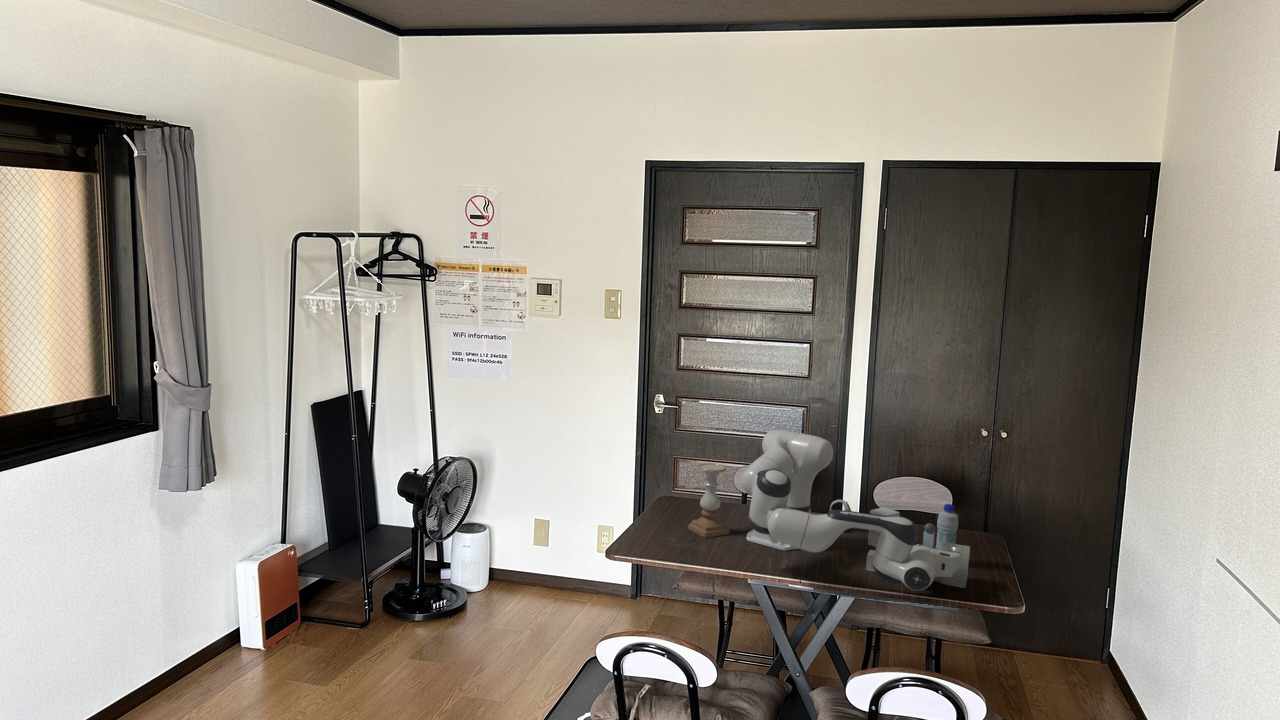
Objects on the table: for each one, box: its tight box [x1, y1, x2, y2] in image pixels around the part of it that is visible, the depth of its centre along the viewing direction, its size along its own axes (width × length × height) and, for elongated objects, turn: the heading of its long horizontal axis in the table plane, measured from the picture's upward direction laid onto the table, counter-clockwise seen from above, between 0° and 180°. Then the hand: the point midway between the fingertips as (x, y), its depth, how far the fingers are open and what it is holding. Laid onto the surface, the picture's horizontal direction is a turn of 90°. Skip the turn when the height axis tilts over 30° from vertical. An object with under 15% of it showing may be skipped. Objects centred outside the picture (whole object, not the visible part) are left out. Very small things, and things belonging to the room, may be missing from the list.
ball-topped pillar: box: [922, 522, 936, 580], centre depth 267 cm, size 8×6×17 cm
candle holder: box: [687, 462, 730, 539], centre depth 303 cm, size 11×11×24 cm
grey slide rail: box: [865, 543, 971, 589], centre depth 270 cm, size 30×8×11 cm, turn 65°
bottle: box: [935, 503, 959, 550], centre depth 282 cm, size 7×7×20 cm
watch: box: [829, 499, 852, 533], centre depth 312 cm, size 6×8×11 cm
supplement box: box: [867, 506, 901, 548], centre depth 296 cm, size 7×7×13 cm
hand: (928, 548), depth 268 cm, fingers open, 4 cm apart
